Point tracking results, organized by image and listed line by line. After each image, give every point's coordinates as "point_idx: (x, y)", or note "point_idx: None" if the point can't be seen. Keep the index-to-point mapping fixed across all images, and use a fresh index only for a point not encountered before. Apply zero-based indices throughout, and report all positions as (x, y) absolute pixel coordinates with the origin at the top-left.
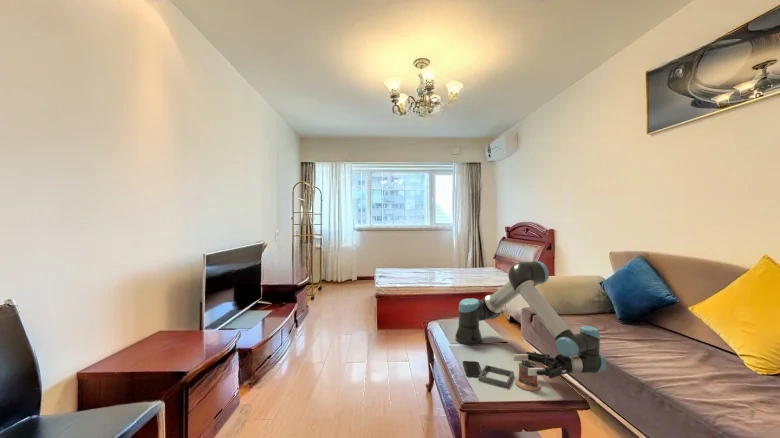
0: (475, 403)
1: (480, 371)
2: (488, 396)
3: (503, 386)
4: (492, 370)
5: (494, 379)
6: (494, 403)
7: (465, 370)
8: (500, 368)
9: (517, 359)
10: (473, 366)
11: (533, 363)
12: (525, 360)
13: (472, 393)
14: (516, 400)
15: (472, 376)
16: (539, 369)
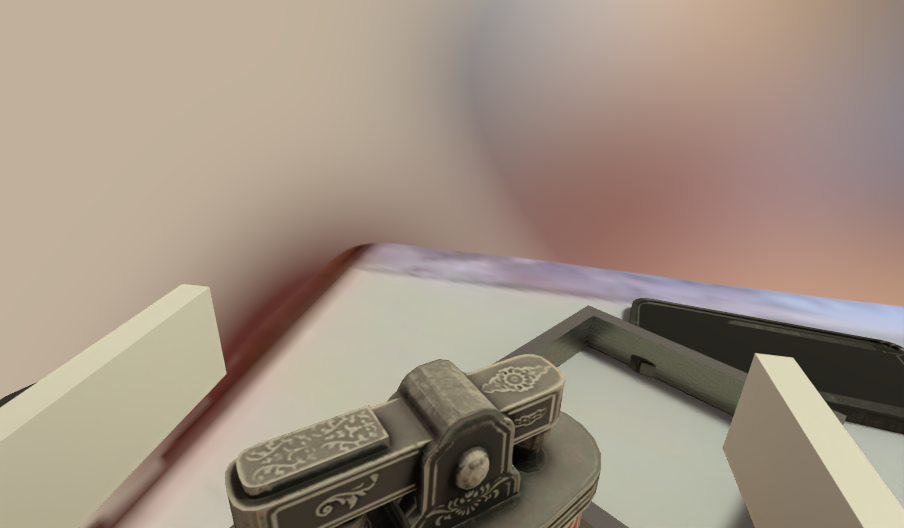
0: (345, 256)
1: None
2: (375, 306)
3: None
4: None
5: (519, 354)
6: (298, 301)
7: (713, 313)
8: None
9: (755, 479)
10: (819, 370)
11: (279, 446)
12: (452, 364)
13: (432, 272)
14: (240, 400)
15: (630, 321)
16: (18, 410)
